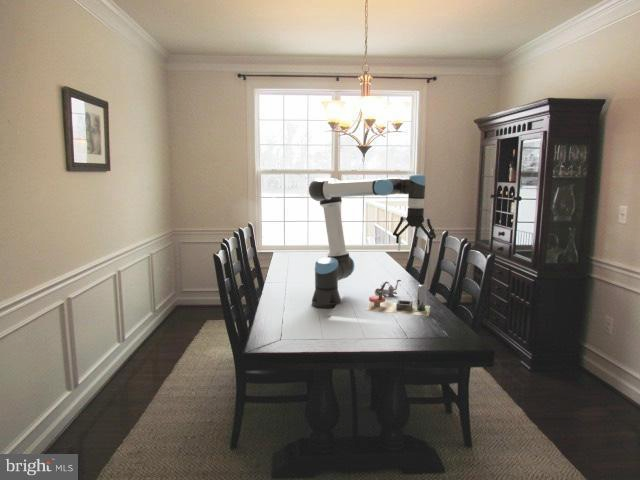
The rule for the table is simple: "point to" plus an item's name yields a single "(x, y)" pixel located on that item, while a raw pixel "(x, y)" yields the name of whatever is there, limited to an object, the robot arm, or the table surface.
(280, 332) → the table surface
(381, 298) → the handwheel
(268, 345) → the table surface
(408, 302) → the board
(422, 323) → the table surface
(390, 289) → the figurine
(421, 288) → the peg
